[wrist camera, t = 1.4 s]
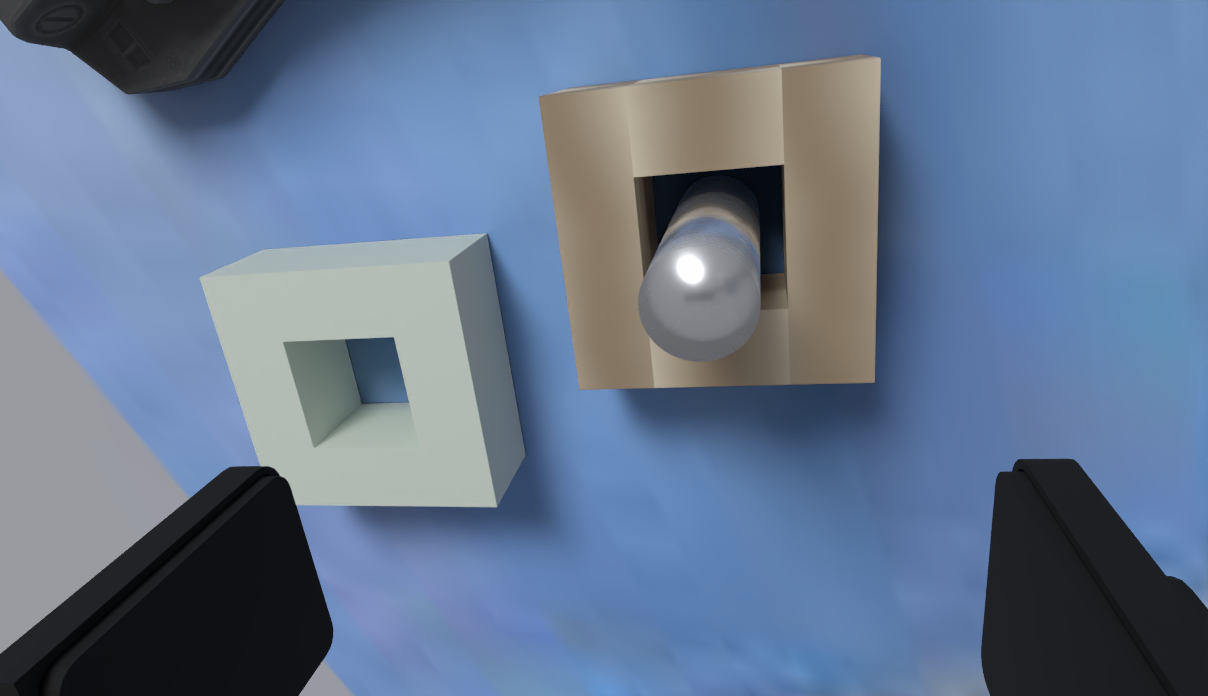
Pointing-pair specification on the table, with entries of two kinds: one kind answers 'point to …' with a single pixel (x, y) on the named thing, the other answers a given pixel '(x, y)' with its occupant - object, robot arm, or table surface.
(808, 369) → the birch mount block
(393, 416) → the sage socket block
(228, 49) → the zipper pull
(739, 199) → the metal pin
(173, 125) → the table surface
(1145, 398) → the table surface
